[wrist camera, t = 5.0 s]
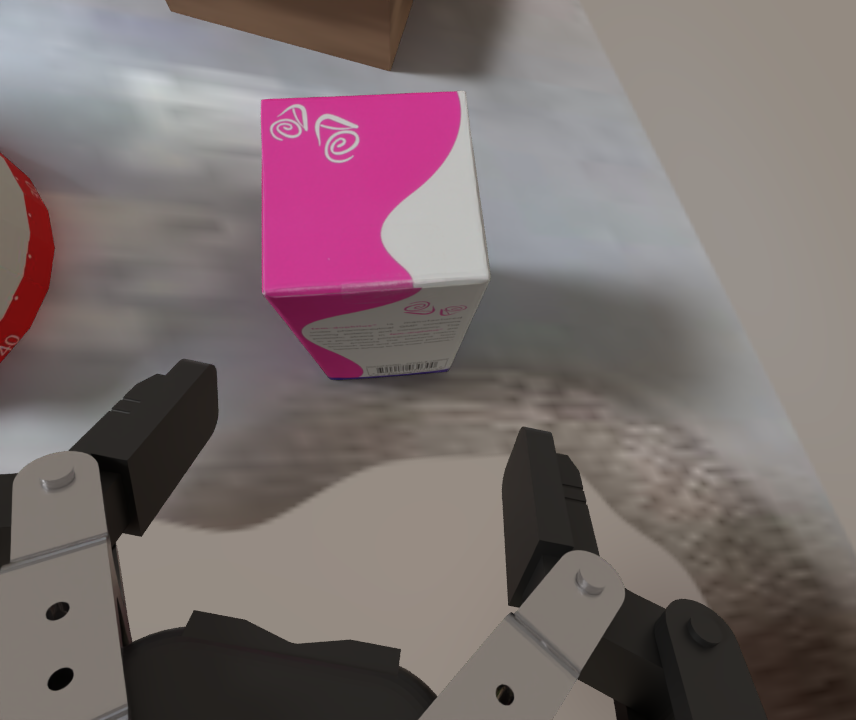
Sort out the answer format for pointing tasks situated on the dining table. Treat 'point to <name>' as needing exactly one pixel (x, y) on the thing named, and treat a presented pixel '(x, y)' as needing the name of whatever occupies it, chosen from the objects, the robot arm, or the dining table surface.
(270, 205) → the supplement box
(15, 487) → the robot arm
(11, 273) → the kitchen timer
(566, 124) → the dining table surface
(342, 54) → the walnut block
